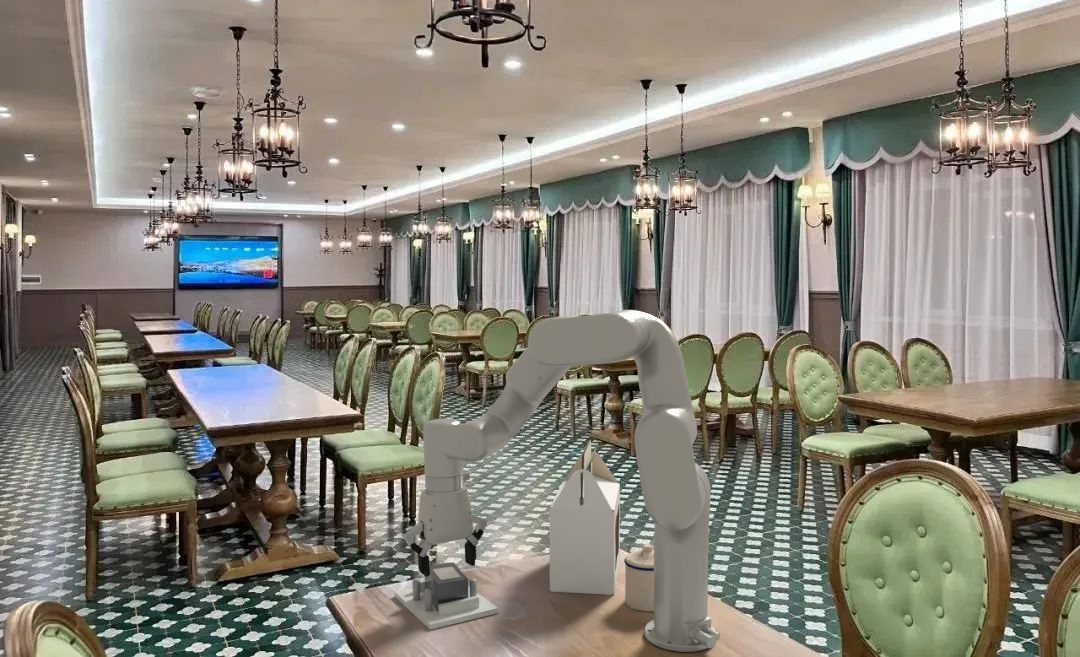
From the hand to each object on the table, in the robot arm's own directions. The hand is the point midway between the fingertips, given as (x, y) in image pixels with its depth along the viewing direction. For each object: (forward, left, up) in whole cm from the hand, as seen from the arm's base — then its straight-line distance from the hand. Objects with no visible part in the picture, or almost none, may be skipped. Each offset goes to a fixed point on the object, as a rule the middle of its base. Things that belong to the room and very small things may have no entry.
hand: (448, 569), depth 157 cm
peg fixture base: (+1, 0, -7) cm, 7 cm away
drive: (0, 0, -6) cm, 6 cm away
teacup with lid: (-18, -35, -7) cm, 40 cm away
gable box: (0, -33, -8) cm, 33 cm away
